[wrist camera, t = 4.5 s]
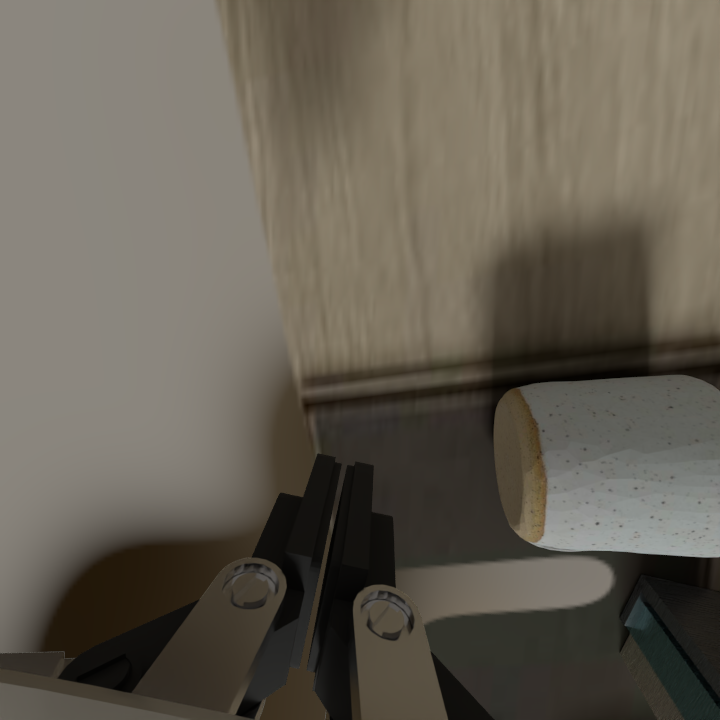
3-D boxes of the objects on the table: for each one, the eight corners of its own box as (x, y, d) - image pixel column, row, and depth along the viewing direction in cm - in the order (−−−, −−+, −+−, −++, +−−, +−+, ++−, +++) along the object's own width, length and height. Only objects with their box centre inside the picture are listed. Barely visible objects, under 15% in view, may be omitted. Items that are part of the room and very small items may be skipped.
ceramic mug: (485, 366, 21) (536, 432, 13) (650, 354, 20) (801, 417, 13) (487, 534, 24) (530, 665, 16) (632, 530, 23) (746, 665, 15)
